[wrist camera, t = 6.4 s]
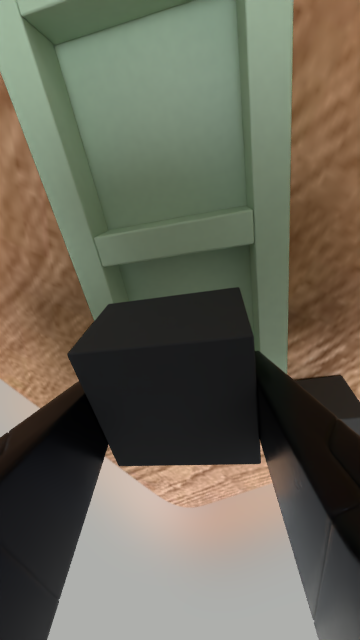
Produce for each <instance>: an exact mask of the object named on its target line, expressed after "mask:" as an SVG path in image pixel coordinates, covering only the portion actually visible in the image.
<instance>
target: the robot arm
mask: <svg viewBox="0 0 360 640" xmlns="http://www.w3.org/2000/svg"><path fill="white" fill-rule="evenodd" d="M255 366H256V384H257V402H258V420H259V437H260V442H261V445H262V448H263V452H264V455H265V458H266V462H267V465H268V469H269V472H270V475H271V479H272V482H273V485H274V488H275V492H276V496H277V499H278V502H279V506H280V509H281V513H282V516H283V520H284V523H285V526H286V530H287V533H288V536H289V540H290V543H291V547H292V550H293V553H294V557H295V560H296V564H297V567H298V570H299V574H300V577H301V581H302V584H303V587H304V591H305V594H306V598H307V601H308V604H309V608H310V611H311V614H312V618H313V620H314V625H315V628H316V632H317V635H318V638H319V640H360V435H358V434H357V433H356V432H355V431H353V430H352V429H351V428H350V427H349V426H347V425H346V424H345V423H344V422H343V421H342V420H340V419H337V416H335V415H334V414H333V413H332V412H331V411H330V410H328V409H327V408H326V407H325V406H324V405H322V404H321V403H320V402H319V401H318V400H317V399H315V398H314V397H313V396H312V395H311V394H309V393H308V392H307V391H306V390H305V389H304V388H302V387H301V386H300V385H299V384H298V383H296V382H295V381H294V380H293V379H292V378H291V377H289V376H288V375H287V374H286V373H285V372H284V371H282V370H281V369H280V368H279V367H278V366H276V365H275V364H274V363H273V362H272V361H271V360H269V359H268V358H267V357H266V356H265V355H263V354H262V353H261V352H260V351H255ZM107 447H108V442H107V440H106V437H105V435H104V433H103V431H102V429H101V427H100V425H99V422H98V420H97V418H96V416H95V414H94V412H93V409H92V407H91V405H90V403H89V401H88V399H87V397H86V394H85V392H84V390H83V388H82V386H81V384H80V381H78V382H77V383H76V384H74V385H73V386H71V387H70V388H69V389H67V390H66V391H64V392H63V393H62V394H60V395H59V396H57V397H56V398H55V399H53V400H52V401H50V402H49V403H48V404H46V405H45V406H43V407H42V408H41V409H39V410H38V411H37V412H35V413H34V414H32V415H31V416H30V417H28V418H27V419H25V420H24V421H23V422H21V423H20V424H18V425H17V426H16V427H14V428H13V429H11V430H10V431H9V433H6V434H4V435H3V436H2V437H0V640H47V638H48V635H49V632H50V628H51V625H52V622H53V619H54V615H55V613H56V609H57V606H58V603H59V599H60V596H61V593H62V589H63V586H64V583H65V580H66V577H67V574H68V571H69V568H70V564H71V561H72V558H73V555H74V551H75V549H76V545H77V542H78V539H79V536H80V533H81V530H82V526H83V523H84V520H85V517H86V514H87V511H88V507H89V504H90V501H91V498H92V495H93V491H94V488H95V485H96V482H97V479H98V476H99V473H100V469H101V466H102V463H103V460H104V457H105V454H106V451H107Z"/></svg>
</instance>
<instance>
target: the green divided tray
mask: <svg viewBox="0 0 360 640" xmlns="http://www.w3.org/2000/svg"><path fill="white" fill-rule="evenodd" d="M292 57H293V0H0V72H1V74H2V77H3V80H4V82H5V85H6V88H7V90H8V93H9V96H10V98H11V101H12V104H13V106H14V109H15V112H16V114H17V117H18V120H19V122H20V125H21V128H22V130H23V133H24V135H25V138H26V141H27V143H28V146H29V149H30V151H31V154H32V157H33V159H34V162H35V165H36V167H37V170H38V173H39V175H40V178H41V181H42V183H43V186H44V189H45V191H46V194H47V197H48V199H49V202H50V205H51V207H52V210H53V213H54V215H55V218H56V221H57V223H58V226H59V229H60V231H61V234H62V236H63V239H64V242H65V244H66V247H67V250H68V252H69V255H70V258H71V260H72V263H73V266H74V268H75V271H76V274H77V276H78V279H79V282H80V284H81V287H82V290H83V292H84V295H85V298H86V300H87V303H88V306H89V308H90V311H91V314H92V316H93V319H94V321H95V320H96V318H97V317H98V316H99V315H100V314H101V312H102V311H103V310H104V309H105V307H106V306H107V305H108V304H112V303H120V302H128V301H135V300H143V299H151V298H158V297H166V296H173V295H181V294H189V293H196V292H204V291H212V290H219V289H227V288H235V287H239V288H240V291H241V294H242V298H243V301H244V305H245V308H246V312H247V315H248V318H249V322H250V325H251V329H252V332H253V335H254V349H255V351H260V352H261V353H262V354H263V355H265V356H266V357H267V358H268V359H269V360H271V361H272V362H273V363H274V364H275V365H276V366H278V367H279V368H280V369H281V370H282V371H284V372H285V373H286V374H287V351H288V292H289V234H290V175H291V116H292Z"/></svg>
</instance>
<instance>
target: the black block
mask: <svg viewBox="0 0 360 640" xmlns="http://www.w3.org/2000/svg"><path fill="white" fill-rule="evenodd" d="M295 382H296V383H298V384H299V385H300V386H301V387H302V388H304V389H305V390H306V391H307V392H308V393H309V394H311V395H312V396H313V397H314V398H315V399H317V400H318V401H319V402H320V403H321V404H322V405H324V406H325V407H326V408H327V409H328V410H330V411H331V412H332V413H333V414H334V415H335V416H337V419H340V420H342V421H343V422H344V423H345V424H346V425H347V426H349V427H350V428H351V429H352V430H353V431H355V432H356V433H357V434H358V435H360V402H359V400H358V399H357V397H356V396H355V395H354V393H353V392H352V390H351V389H350V387H349V386H348V384H347V383H346V381H345V380H344V378H343V377H342V376H331V377H323V378H314V379H306V380H298V381H295Z"/></svg>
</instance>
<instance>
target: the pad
mask: <svg viewBox="0 0 360 640" xmlns="http://www.w3.org/2000/svg"><path fill="white" fill-rule="evenodd" d="M67 355H68V358H69V360H70V362H71V364H72V366H73V369H74V371H75V373H76V375H77V377H78V379H79V381H80V384H81V386H82V388H83V390H84V392H85V394H86V397H87V399H88V401H89V403H90V405H91V407H92V409H93V412H94V414H95V416H96V418H97V420H98V422H99V425H100V427H101V429H102V431H103V433H104V435H105V437H106V440H107V442H108V444H109V446H110V448H111V450H112V453H113V455H114V457H115V459H116V461H117V463H118V465H119V466H159V465H221V464H260V463H261V455H260V437H259V420H258V402H257V384H256V366H255V349H254V335H253V332H252V329H251V325H250V322H249V318H248V315H247V312H246V308H245V305H244V301H243V298H242V294H241V291H240V288H239V287H235V288H227V289H219V290H212V291H204V292H196V293H189V294H181V295H173V296H166V297H158V298H151V299H143V300H135V301H128V302H120V303H112V304H108V305H107V306H106V307H105V309H104V310H103V311H102V312H101V314H100V315H99V316H98V317H97V318H96V320H95V321H94V322H93V323H92V325H91V326H90V327H89V328H88V329H87V331H86V332H85V333H84V334H83V335H82V337H81V338H80V339H79V340H78V342H77V343H76V344H75V345H74V346H73V348H72V349H71V350H70V351H69V353H68V354H67Z"/></svg>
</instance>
